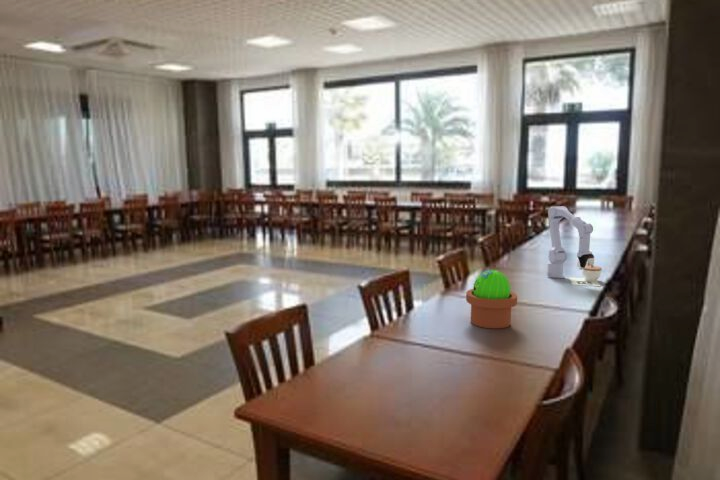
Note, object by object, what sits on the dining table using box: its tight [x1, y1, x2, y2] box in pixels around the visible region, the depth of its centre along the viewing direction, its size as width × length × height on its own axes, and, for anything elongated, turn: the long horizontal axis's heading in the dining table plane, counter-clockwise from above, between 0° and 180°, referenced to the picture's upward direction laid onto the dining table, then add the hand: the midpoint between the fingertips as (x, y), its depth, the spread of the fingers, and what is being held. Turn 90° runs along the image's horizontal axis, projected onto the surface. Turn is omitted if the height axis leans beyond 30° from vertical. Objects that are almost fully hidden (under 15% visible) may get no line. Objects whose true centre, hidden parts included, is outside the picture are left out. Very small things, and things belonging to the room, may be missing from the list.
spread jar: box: [576, 249, 595, 270], centre depth 358 cm, size 12×11×12 cm
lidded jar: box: [581, 265, 602, 281], centre depth 321 cm, size 11×11×9 cm
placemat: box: [568, 277, 602, 287], centre depth 317 cm, size 15×19×1 cm
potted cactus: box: [465, 268, 518, 330], centre depth 237 cm, size 22×22×25 cm
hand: (582, 267), depth 310 cm, fingers closed
